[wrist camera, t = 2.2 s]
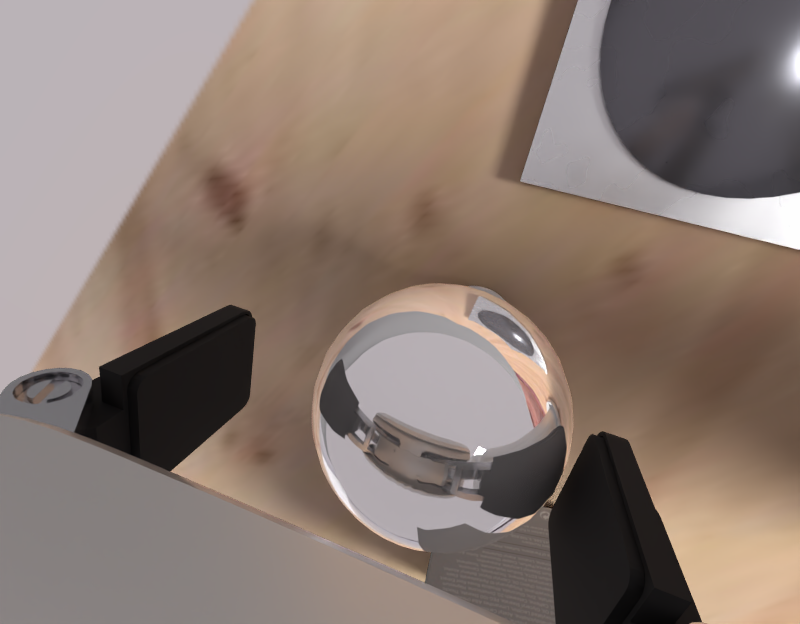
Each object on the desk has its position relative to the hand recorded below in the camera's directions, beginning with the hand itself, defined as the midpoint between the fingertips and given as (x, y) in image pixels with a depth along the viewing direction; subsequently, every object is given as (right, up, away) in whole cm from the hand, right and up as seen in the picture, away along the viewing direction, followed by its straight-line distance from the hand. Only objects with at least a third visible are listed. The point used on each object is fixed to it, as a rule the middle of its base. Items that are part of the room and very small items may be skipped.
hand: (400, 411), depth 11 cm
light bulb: (+4, +3, +8) cm, 9 cm away
